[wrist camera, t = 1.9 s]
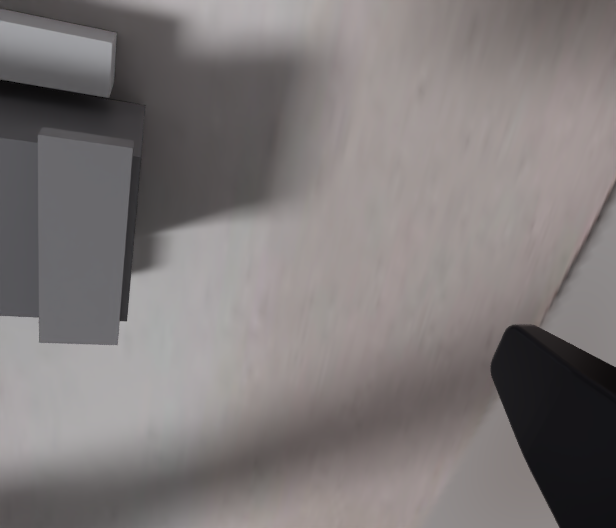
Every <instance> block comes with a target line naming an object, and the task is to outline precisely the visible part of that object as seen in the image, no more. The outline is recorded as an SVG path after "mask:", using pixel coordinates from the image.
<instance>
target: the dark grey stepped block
mask: <svg viewBox="0 0 616 528" xmlns="http://www.w3.org/2000/svg"><path fill="white" fill-rule="evenodd" d="M144 116H145V105H140V104H134V103H128V102H122V101H116V100H110V99H104V98H98V97H92V96H86V95H81V94H75V93H69V92H63V91H57V90H51V89H45V88H39V87H33V86H27V85H21V84H15V83H10V82H4V81H0V316H18V317H39V343H67V344H99V345H117V344H118V334H119V322H120V321H127V314H128V303H129V291H130V280H131V268H132V257H133V245H134V234H135V222H136V211H137V199H138V188H139V176H140V164H141V153H142V140H143V128H144Z"/></svg>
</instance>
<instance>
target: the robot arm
mask: <svg viewBox="0 0 616 528" xmlns="http://www.w3.org/2000/svg"><path fill="white" fill-rule="evenodd" d="M491 376H492V379H493V381H494V384H495V386H496V389H497V391H498V394H499V396H500V399H501V401H502V404H503V406H504V409H505V411H506V414H507V416H508V419H509V422H510V424H511V427H512V429H513V431H514V434H515V437H516V439H517V442H518V444H519V446H520V449H521V451H522V454H523V456H524V458H525V460H526V462H527V464H528V467H529V469H530V471H531V472H532V475H533V477H534V478H535V480H536V482H537V484H538V486H539V488H540V490H541V492H542V494H543V496H544V498H545V500H546V502H547V504H548V506H549V508H550V510H551V512H552V514H553V515H554V518H555V520H556V522H557V524H558V526H559V528H616V367H614V366H612V365H610V364H608V363H606V362H604V361H602V360H601V359H598V358H596V357H595V356H593V355H591V354H589V353H587V352H585V351H583V350H581V349H579V348H577V347H576V346H574V345H572V344H570V343H568V342H566V341H564V340H562V339H560V338H558V337H556V336H554V335H553V334H551V333H549V332H547V331H545V330H543V329H541V328H539V327H537V326H535V325H511V326H509V327H508V328H507V329H506V330H505V332H504V334H503V336H502V339H501V341H500V343H499V345H498V348H497V350H496V352H495V354H494V357H493V359H492V362H491Z"/></svg>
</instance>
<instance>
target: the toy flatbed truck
mask: <svg viewBox="0 0 616 528" xmlns="http://www.w3.org/2000/svg"><path fill="white" fill-rule="evenodd" d="M116 40H117V33H116V32H111V31H107V30H102V29H97V28H92V27H87V26H82V25H78V24H73V23H68V22H63V21H58V20H53V19H49V18H44V17H39V16H34V15H29V14H25V13H20V12H15V11H10V10H5V9H0V80H6V81H12V82H18V83H24V84H30V85H36V86H42V87H47V88H53V89H59V90H65V91H71V92H77V93H83V94H89V95H95V96H100V97H106V98H109V97H110V94H111V91H112V87H113V84H114V75H115V57H116Z"/></svg>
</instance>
